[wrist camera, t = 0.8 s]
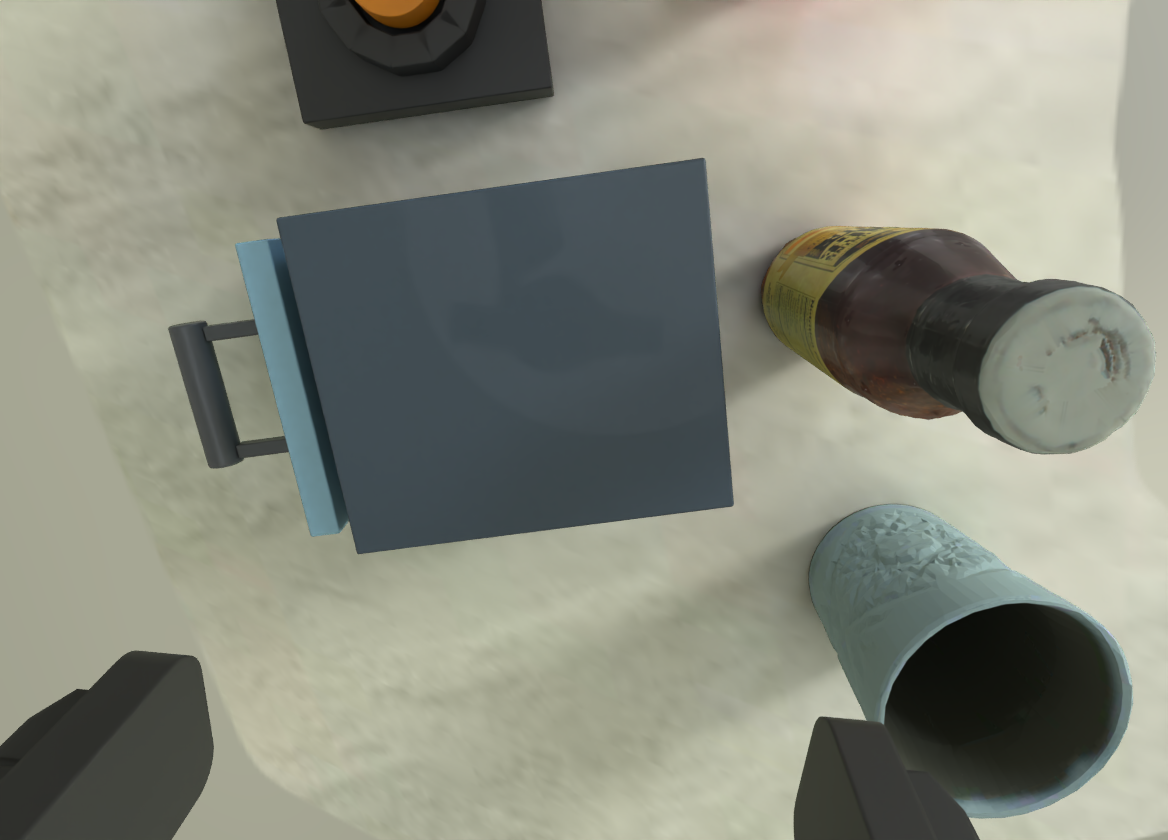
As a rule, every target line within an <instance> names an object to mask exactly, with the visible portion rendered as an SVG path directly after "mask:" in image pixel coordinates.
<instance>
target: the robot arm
mask: <svg viewBox="0 0 1168 840" xmlns="http://www.w3.org/2000/svg"><path fill="white" fill-rule="evenodd" d="M213 749H214V746H213V737H212V732H211V726H210V719H209V712H208V706H207V700H206V693H205V687H204V682H203V675H202V669H201V665H200V663H199V661H198V660H197V658H195V657H194V656H189V655H178V654H167V653H157V652H146V651H131V652H129V653H127V654H125V655H124V656H122V657H121V658H120V659H119V660H118V661H117V662H116V663H115V664H114V665H113V666H112V667H111V668H110V669H109V670H108V671H107V672H106V673H105V674H104V675H103V676H102V677H101V678H100V679H99V680H98V681H97V682H96V683H95V684H94V685H93V686H92V687H91V688H90V689H89V690H82V689H76V690H75V691H73V692H71V693H70V694H68V695H67V696H65V697H63V698H62V699H60V700H58V701H57V702H55V703H53V704H52V705H50V706H49V707H47V708H45V709H44V710H42V711H40V712H39V713H37V714H35V715H34V716H32V717H31V718H29V719H28V720H27V721H26V722H25V723H24V724H23V725H22V726H20V727H19V728H18V729H17V731H15V732H14V733H13V734H12V735H11V736H10V737H9V738H8V739H7V740H6V741H5V742H4V743H3V744H2V745H1V746H0V840H172V838H173V837H174V835H175V833H176V832H177V830H178V829H179V827H180V826H181V824H182V823H183V821H184V820H185V818H186V817H187V815H188V813H189V812H190V810H191V809H192V807H193V806H194V804H195V802H196V801H197V799H198V798H199V796H200V794H201V792H202V791H203V788H204V786H205V784H206V781H207V779H208V776H209V773H210V769H211V765H212V760H213ZM794 840H980V839H979V837H978V835H977V833H976V831H975V829H974V827H973V825H972V824H971V822H970V820H969V818H968V816H967V814H966V812H965V810H964V809H963V808H962V807H961V806H960V805H959V804H958V803H957V802H956V801H955V800H954V799H953V797H952V796H951V795H950V794H949V793H948V792H947V791H946V790H945V789H944V788H943V787H942V786H941V785H940V783H939V782H938V781H937V780H936V779H935V778H934V777H933V776H932V775H931V774H930V773H929V772H926V771H915V770H906V768H905V766H904V764H903V762H902V759H901V757H900V755H899V753H898V751H897V748H896V746H895V744H894V742H893V739H892V737H891V735H890V733H889V731H888V729H887V728H886V727H885V725H883V724H882V723H880V722H876V721H865V720H854V719H843V718H833V717H819V718H818V719H817V721H816V723H815V725H814V728H813V732H812V736H811V740H810V744H809V748H808V752H807V757H806V761H805V765H804V769H803V773H802V777H801V781H800V785H799V789H798V793H797V797H796V802H795V808H794Z"/></svg>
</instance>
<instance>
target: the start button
mask: <svg viewBox="0 0 1168 840" xmlns="http://www.w3.org/2000/svg"><path fill="white" fill-rule="evenodd" d="M355 1H356V2H357V3H358V4H359V5H360V6H361V7H362V8H363V9H364V10H365V11H366V12H367V13H368V14H369V15H370V16H371V17H372V18H374V19H375V20H376V21H378V22H380V23H381V24H383V25H386V26H389V27H393V28H409V27H413V26H416V25H418V24H420V23H422V22H423V21H425V20H426V19H427V18H428V17H429V16H430V15H431V14H432V13H433V12H434V10H435V9H436V7H437V5H438V3H439V1H440V0H355Z"/></svg>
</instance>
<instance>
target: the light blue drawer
mask: <svg viewBox="0 0 1168 840" xmlns="http://www.w3.org/2000/svg"><path fill="white" fill-rule="evenodd" d="M235 246H236V250H237V254H238V258H239V262H240V265H241V269H242V273H243V277H244V281H245V285H246V288H247V292H248V296H249V300H250V304H251V308H252V312H253V315H254V319H251V320H244V321H237V322H230V323H222V324H215V325H209V326H208V325H207V322H206V321H196V322H189V323H183V324H178V325H173V326H170V327H169V328H168V330H169V333H170V337H171V340H172V343H173V347H174V350H175V354H176V357H177V360H178V364H179V367H180V371H181V374H182V377H183V381H184V384H185V388H186V391H187V394H188V398H189V401H190V405H191V408H192V411H193V415H194V418H195V421H196V425H197V428H198V432H199V435H200V438H201V442H202V445H203V449H204V452H205V455H206V459H207V462H208V466H209V467H210V468H224V467H228V466H232V465H235V464H237V463H239V462H241V461H243V460H244V458H247V457H255V456H262V455H270V454H278V453H285V452H289V454H290V457H291V461H292V465H293V469H294V473H295V477H296V480H297V484H298V488H299V492H300V496H301V500H302V504H303V507H304V511H305V515H306V519H307V523H308V527H309V530H310V534H311V536H312V537H313V536H321V535H329V534H337V533H340V532H341V531H342V529H343V528H344V527H345V526H346V524H347V523H348V522H349V518H348V514H347V509H346V505H345V501H344V497H343V493H342V489H341V485H340V481H339V476H338V472H337V468H336V464H335V460H334V456H333V452H332V448H331V443H330V439H329V435H328V431H327V427H326V423H325V419H324V415H323V411H322V406H321V402H320V398H319V394H318V390H317V386H316V382H315V378H314V373H313V369H312V365H311V361H310V357H309V353H308V349H307V345H306V341H305V336H304V332H303V328H302V324H301V320H300V316H299V312H298V308H297V303H296V299H295V295H294V291H293V287H292V283H291V279H290V275H289V271H288V266H287V262H286V258H285V254H284V250H283V246H282V242H281V238H278V239H264V240H257V241H250V242H242V243H237V244H235ZM253 335H259V338H260V342H261V346H262V350H263V354H264V358H265V361H266V365H267V369H268V373H269V377H270V381H271V384H272V388H273V392H274V396H275V400H276V404H277V408H278V411H279V415H280V419H281V423H282V427H283V431H284V434H285V436H281V437H273V438H266V439H258V440H251V441H243V442H241V443H240V440H239V436H238V432H237V429H236V425H235V422H234V418H233V414H232V411H231V407H230V404H229V400H228V397H227V393H226V389H225V386H224V382H223V379H222V375H221V371H220V368H219V364H218V361H217V357H216V354H215V350H214V346H213V343H212V341H216V340H223V339H231V338H238V337H245V336H253Z"/></svg>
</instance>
